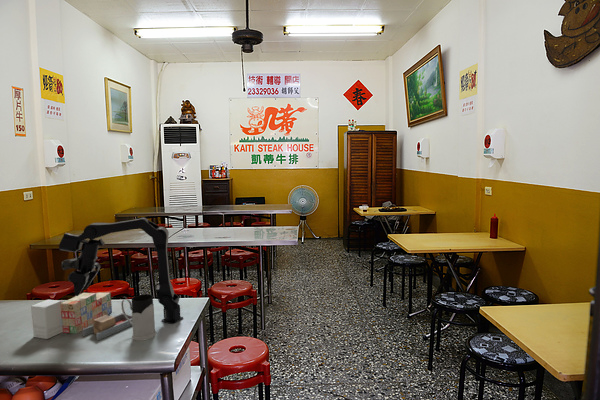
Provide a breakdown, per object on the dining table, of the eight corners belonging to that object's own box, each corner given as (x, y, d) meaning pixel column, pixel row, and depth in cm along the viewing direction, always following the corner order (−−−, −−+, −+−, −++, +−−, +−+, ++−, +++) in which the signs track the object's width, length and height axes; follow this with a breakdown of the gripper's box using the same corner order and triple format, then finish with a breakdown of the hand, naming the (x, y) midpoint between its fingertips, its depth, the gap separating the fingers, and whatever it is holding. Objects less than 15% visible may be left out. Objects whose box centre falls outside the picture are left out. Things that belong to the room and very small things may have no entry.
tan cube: (115, 330, 150) (114, 317, 149) (102, 336, 145) (102, 322, 144) (106, 327, 152) (105, 314, 152) (93, 333, 147) (92, 319, 147)
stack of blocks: (99, 312, 169) (98, 285, 168) (112, 312, 168) (110, 286, 167) (62, 333, 148) (60, 302, 147) (76, 334, 147) (74, 303, 146)
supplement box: (64, 331, 149) (62, 300, 148) (46, 339, 142) (44, 307, 141) (50, 329, 152) (48, 298, 150) (32, 337, 145) (30, 305, 143)
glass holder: (146, 341, 139) (143, 302, 138) (115, 337, 144) (112, 299, 142) (161, 331, 148) (159, 294, 146) (131, 327, 152) (129, 291, 151)
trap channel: (138, 322, 157) (138, 316, 157) (98, 340, 141) (98, 334, 141) (123, 318, 161) (122, 312, 161) (82, 335, 145) (82, 329, 145)
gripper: (75, 245, 157) (68, 281, 157) (56, 256, 138) (48, 296, 139) (104, 250, 159) (96, 286, 160) (89, 261, 141) (80, 301, 142)
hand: (80, 292), depth 150 cm, fingers open, 9 cm apart
